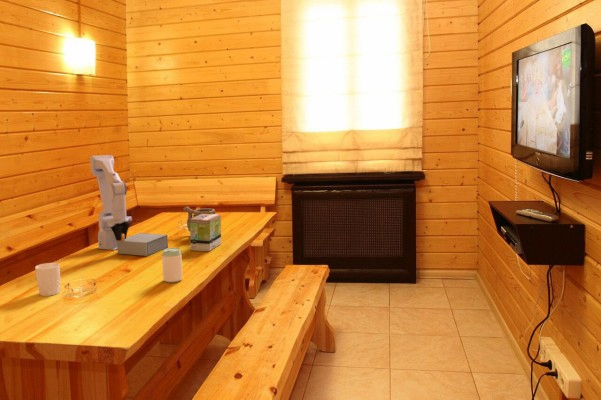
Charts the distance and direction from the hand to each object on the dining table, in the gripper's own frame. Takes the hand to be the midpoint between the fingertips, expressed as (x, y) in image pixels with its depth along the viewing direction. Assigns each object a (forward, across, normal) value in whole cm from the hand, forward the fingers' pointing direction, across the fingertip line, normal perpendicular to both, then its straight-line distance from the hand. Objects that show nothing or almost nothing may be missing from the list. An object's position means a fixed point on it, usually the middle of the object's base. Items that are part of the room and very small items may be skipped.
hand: (121, 239), depth 250 cm
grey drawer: (+6, 0, -5) cm, 8 cm away
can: (+7, -27, -43) cm, 51 cm away
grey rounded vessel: (+7, +42, -16) cm, 45 cm away
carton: (+7, +9, -6) cm, 12 cm away
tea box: (+7, +23, -30) cm, 38 cm away
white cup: (+7, -53, -9) cm, 54 cm away
